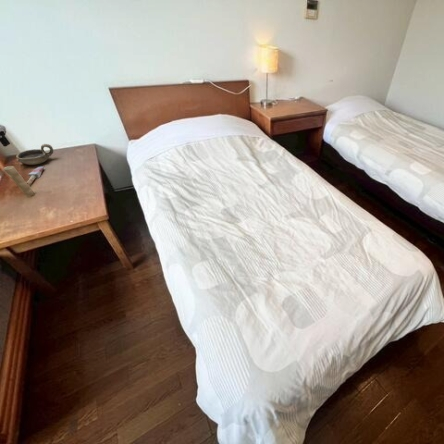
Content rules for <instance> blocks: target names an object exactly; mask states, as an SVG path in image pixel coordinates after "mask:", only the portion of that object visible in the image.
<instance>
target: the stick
mask: <svg viewBox="0 0 444 444" xmlns="http://www.w3.org/2000/svg"><path fill="white" fill-rule="evenodd" d="M3 171H4V173H6V174H7V175H8V177H9V178H10V179H11V180H12V181H13V183H14V184H15V185H16V186H17V187H18V189H19V190H20V191H21V192H22V193H23V194H24V196H25V197H27V198H31V197H33V196H35V195H36V193H35V191H34V190H33V188H32V187H31V185H30V186H29V185H28V184H27V183H26V182H27V181H26V179H24V178H23V176H22V175H21V174H20V173H19V171H18V170H17V169H16V168H15V166H14V165H8V166H5V167H3Z"/></svg>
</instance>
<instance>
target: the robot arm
mask: <svg viewBox="0 0 444 444" xmlns="http://www.w3.org/2000/svg"><path fill="white" fill-rule="evenodd" d="M6 128H7V127H6V126H5V125H2V124H0V144H1V145H2V146H3V147H5V148H6V147H8V146H9V145H11V142H10V141H9V140H8V138H7V137H6V134H7V129H6Z"/></svg>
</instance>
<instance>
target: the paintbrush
mask: <svg viewBox="0 0 444 444" xmlns="http://www.w3.org/2000/svg"><path fill="white" fill-rule="evenodd" d="M44 168H45V166H44V165H43V166H37V167H36V168H34V169H33V170H31V172H29V173H28V174H27V175H28V176H29V178H28V180H27V181H26V183H27V184H28V185H29V186H30V187H31V185H32V183H33V182H34V181H35V179H40V178H41V175H42V173H43V170H44Z"/></svg>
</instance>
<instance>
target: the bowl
mask: <svg viewBox="0 0 444 444" xmlns="http://www.w3.org/2000/svg"><path fill="white" fill-rule="evenodd" d="M44 148H48V149H49V152H46V151H45V149H44ZM53 154H54V148H53V146H52V145H50V144H48V143H43V144H42V145H40V148H39V149H38V148H36V149H33V148H32V149H27V150H24V151H20V152H18V153H17V154H16V159H17V162H20V163H21V164H24V165H29V166H34V165H41V164H43V163H44V162H46V161H48V160H49V158H50V157H51V156H52V155H53Z"/></svg>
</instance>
